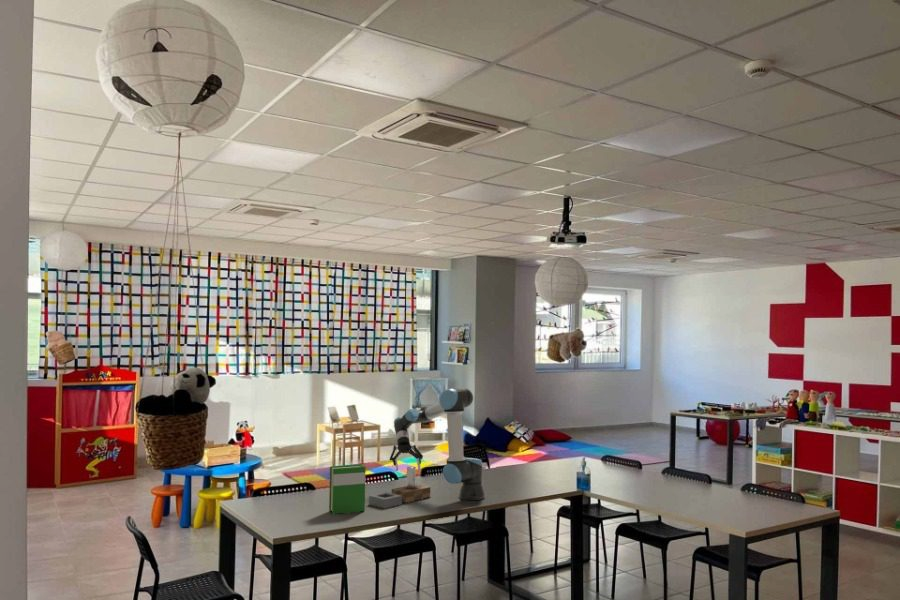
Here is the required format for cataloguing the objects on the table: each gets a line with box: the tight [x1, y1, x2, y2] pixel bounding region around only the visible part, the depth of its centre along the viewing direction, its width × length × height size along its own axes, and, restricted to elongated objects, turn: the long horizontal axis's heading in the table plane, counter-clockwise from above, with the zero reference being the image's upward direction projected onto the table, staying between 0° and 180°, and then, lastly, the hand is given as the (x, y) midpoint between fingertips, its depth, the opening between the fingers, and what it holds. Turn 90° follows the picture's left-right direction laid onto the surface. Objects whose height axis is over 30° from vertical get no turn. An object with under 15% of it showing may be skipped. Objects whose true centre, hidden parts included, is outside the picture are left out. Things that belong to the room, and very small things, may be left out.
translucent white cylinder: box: [406, 466, 417, 490], centre depth 401 cm, size 5×5×18 cm
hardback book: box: [328, 464, 366, 515], centre depth 369 cm, size 18×7×24 cm, turn 114°
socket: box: [368, 491, 403, 509], centre depth 385 cm, size 13×13×5 cm
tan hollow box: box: [391, 483, 431, 503], centre depth 401 cm, size 12×20×6 cm, turn 137°
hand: (408, 469), depth 406 cm, fingers open, 13 cm apart
